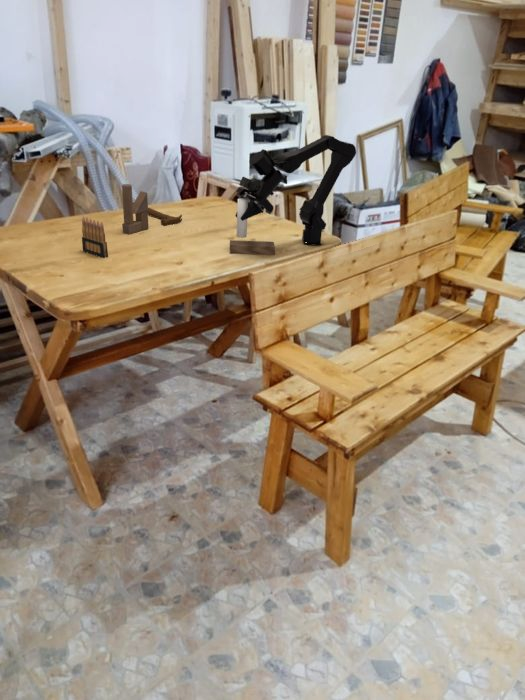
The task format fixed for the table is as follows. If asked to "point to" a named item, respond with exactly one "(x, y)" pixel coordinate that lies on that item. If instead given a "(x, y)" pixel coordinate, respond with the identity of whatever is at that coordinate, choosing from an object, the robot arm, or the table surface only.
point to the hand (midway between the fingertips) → (238, 218)
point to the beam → (252, 247)
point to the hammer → (164, 217)
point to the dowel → (240, 224)
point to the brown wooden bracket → (134, 210)
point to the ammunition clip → (94, 238)
